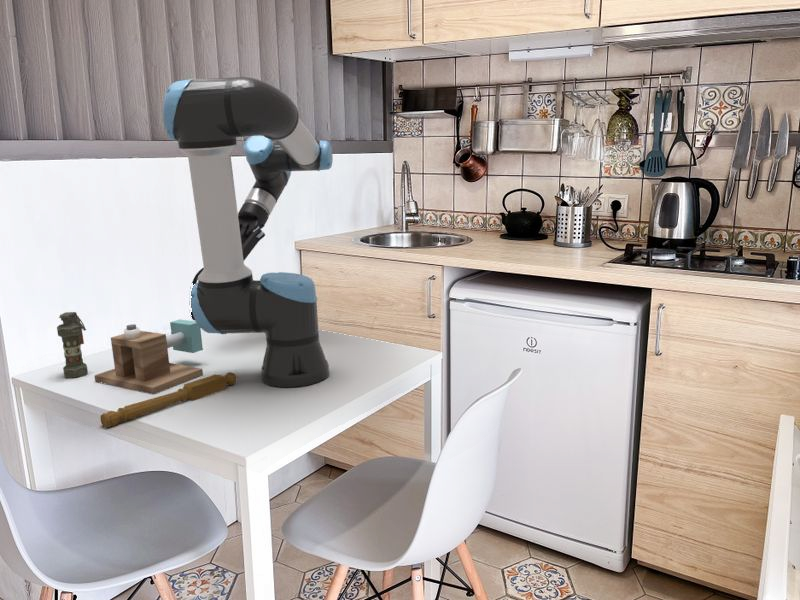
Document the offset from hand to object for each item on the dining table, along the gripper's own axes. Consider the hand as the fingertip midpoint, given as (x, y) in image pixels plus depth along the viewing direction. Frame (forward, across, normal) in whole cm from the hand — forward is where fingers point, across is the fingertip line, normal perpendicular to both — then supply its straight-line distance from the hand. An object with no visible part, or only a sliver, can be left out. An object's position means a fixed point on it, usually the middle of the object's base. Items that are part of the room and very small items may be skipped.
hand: (216, 282), depth 170 cm
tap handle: (+36, -18, +10) cm, 41 cm away
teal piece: (+22, +1, +1) cm, 22 cm away
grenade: (+33, +20, +7) cm, 39 cm away
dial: (+24, 0, +13) cm, 27 cm away
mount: (+29, 0, +4) cm, 29 cm away
